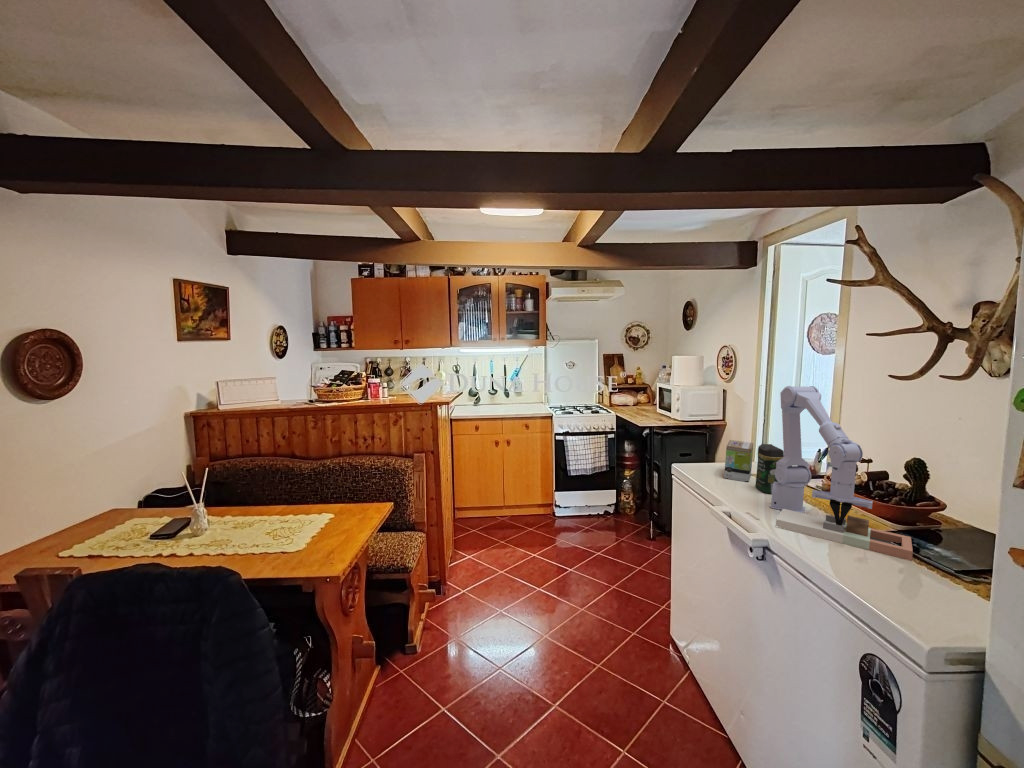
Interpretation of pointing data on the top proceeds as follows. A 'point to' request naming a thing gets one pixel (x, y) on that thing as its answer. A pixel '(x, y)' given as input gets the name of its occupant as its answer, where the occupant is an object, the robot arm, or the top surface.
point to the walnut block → (857, 525)
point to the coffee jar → (767, 466)
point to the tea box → (738, 460)
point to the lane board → (845, 533)
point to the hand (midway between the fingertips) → (839, 525)
